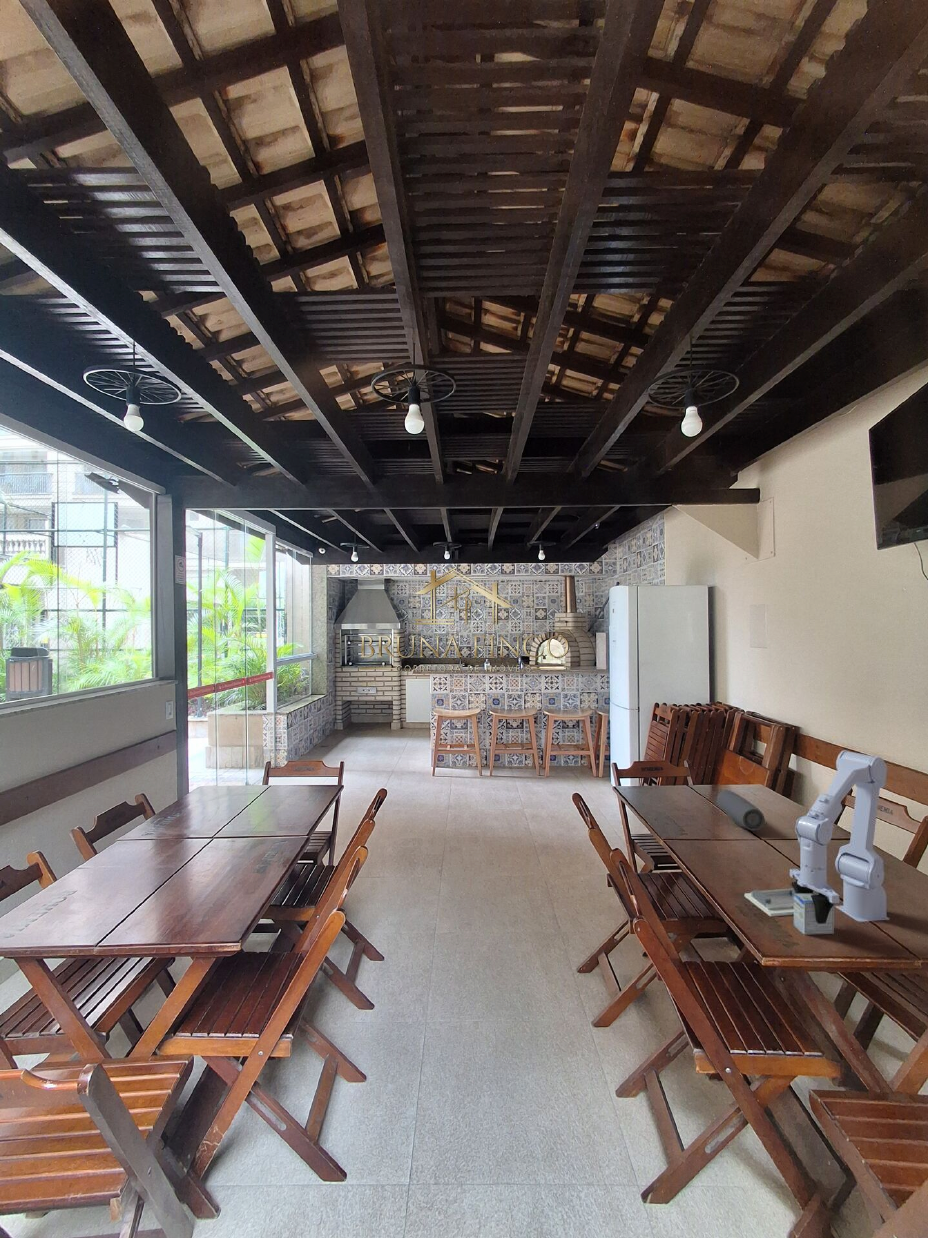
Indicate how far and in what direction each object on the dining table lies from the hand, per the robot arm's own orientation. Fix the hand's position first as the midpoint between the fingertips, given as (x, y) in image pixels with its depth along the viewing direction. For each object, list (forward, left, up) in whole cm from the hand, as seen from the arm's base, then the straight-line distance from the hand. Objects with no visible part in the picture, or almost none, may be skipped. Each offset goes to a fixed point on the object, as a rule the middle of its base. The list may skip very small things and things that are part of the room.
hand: (813, 917), depth 143 cm
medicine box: (0, 0, -4) cm, 4 cm away
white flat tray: (-1, -13, -3) cm, 13 cm away
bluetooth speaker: (-29, -72, -4) cm, 78 cm away
